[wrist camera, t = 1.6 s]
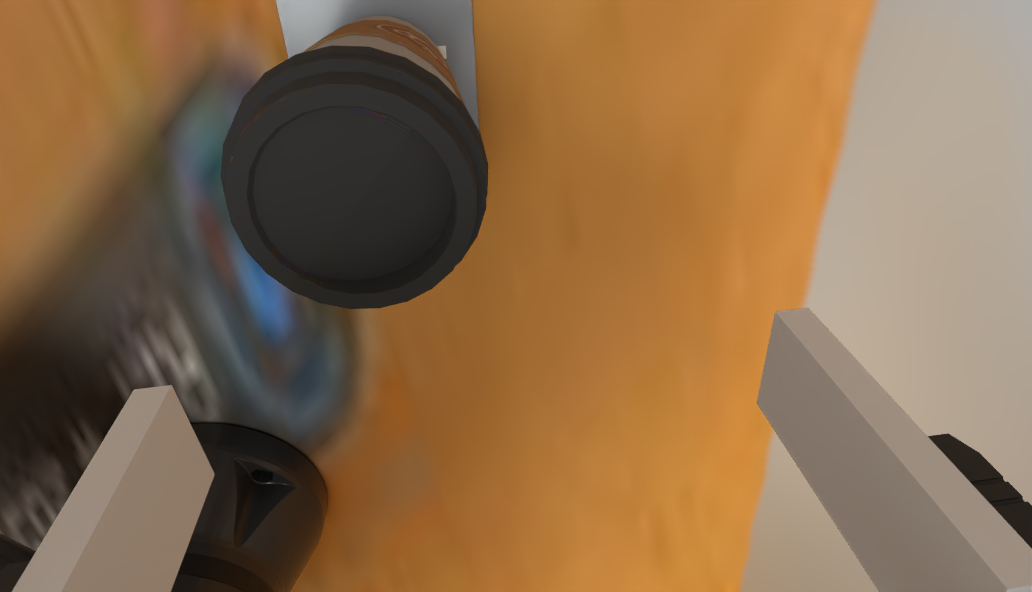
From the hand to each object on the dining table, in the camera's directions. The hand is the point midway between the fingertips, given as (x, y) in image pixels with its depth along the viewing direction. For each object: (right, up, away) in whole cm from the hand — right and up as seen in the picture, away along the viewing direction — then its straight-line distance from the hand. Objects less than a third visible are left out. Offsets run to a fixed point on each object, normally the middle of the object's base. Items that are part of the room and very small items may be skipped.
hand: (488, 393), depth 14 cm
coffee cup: (-6, +13, +17) cm, 22 cm away
